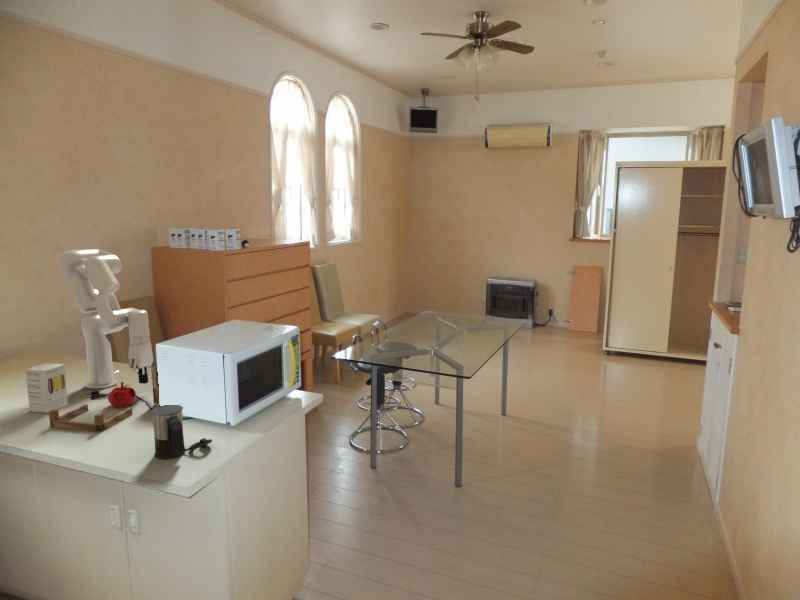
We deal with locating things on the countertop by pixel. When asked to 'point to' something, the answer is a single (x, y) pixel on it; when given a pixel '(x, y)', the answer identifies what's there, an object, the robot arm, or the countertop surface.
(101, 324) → the robot arm
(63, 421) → the display stand
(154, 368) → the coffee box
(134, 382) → the countertop surface
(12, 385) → the countertop surface
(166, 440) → the milk frother
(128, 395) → the red tomato
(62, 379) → the supplement box
